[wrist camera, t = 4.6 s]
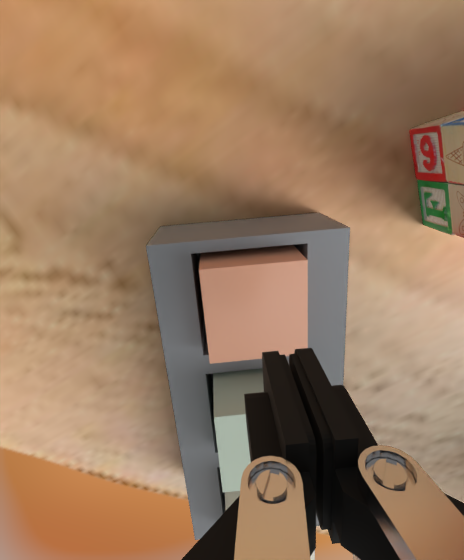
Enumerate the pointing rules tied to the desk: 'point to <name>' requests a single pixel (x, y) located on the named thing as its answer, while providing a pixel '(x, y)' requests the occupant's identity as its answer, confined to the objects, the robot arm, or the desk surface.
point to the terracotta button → (254, 302)
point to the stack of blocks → (440, 172)
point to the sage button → (233, 422)
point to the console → (192, 332)
